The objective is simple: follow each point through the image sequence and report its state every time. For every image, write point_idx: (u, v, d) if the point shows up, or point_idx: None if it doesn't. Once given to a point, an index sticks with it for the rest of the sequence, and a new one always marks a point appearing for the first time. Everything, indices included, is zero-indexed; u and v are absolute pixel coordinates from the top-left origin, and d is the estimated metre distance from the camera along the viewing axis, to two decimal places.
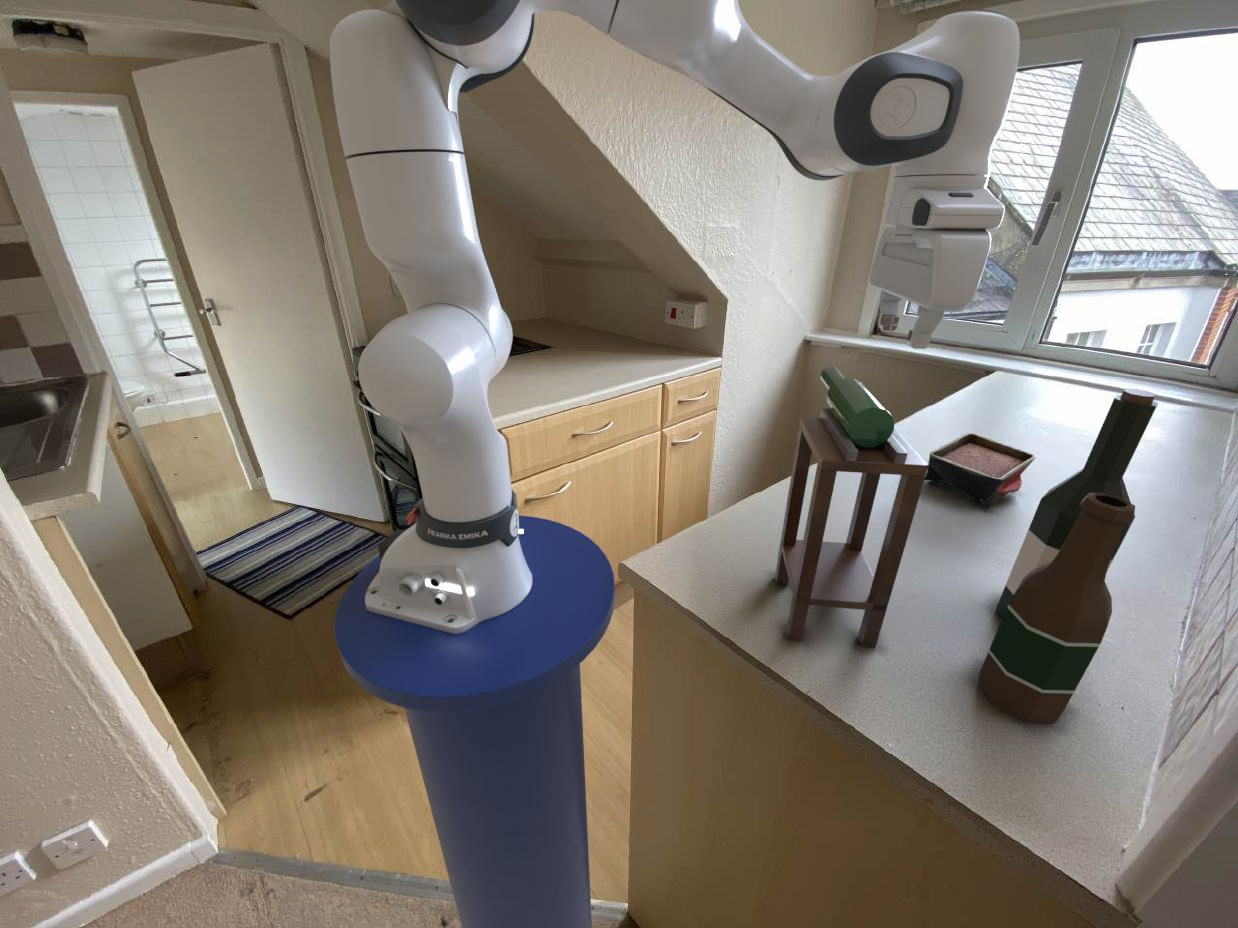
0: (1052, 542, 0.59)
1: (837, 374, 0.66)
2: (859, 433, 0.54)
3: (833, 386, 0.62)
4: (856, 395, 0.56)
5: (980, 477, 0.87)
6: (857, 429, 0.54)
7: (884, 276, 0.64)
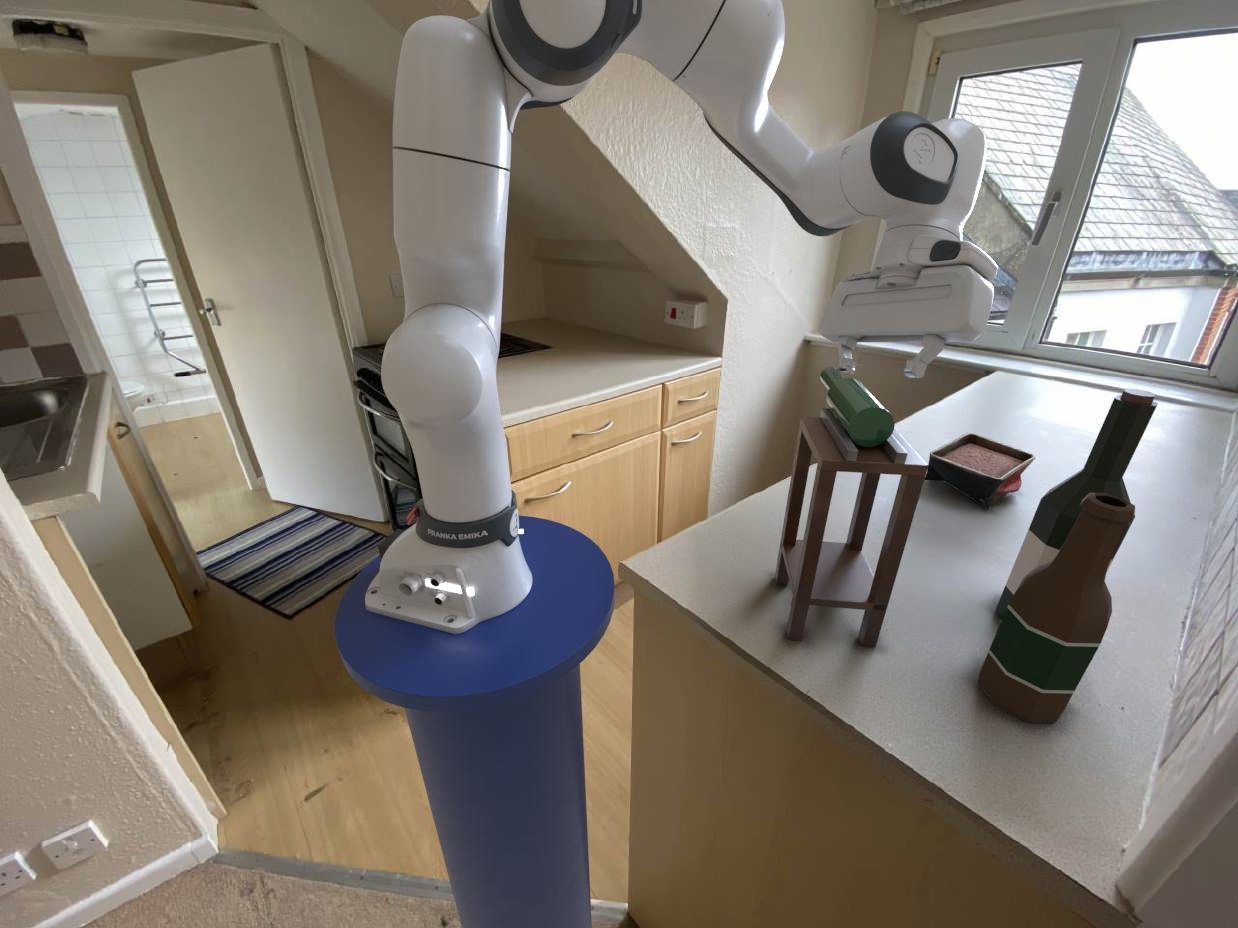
0: (1052, 542, 0.59)
1: (837, 374, 0.66)
2: (859, 432, 0.54)
3: (833, 386, 0.62)
4: (856, 395, 0.56)
5: (980, 477, 0.87)
6: (857, 428, 0.54)
7: (853, 320, 0.68)
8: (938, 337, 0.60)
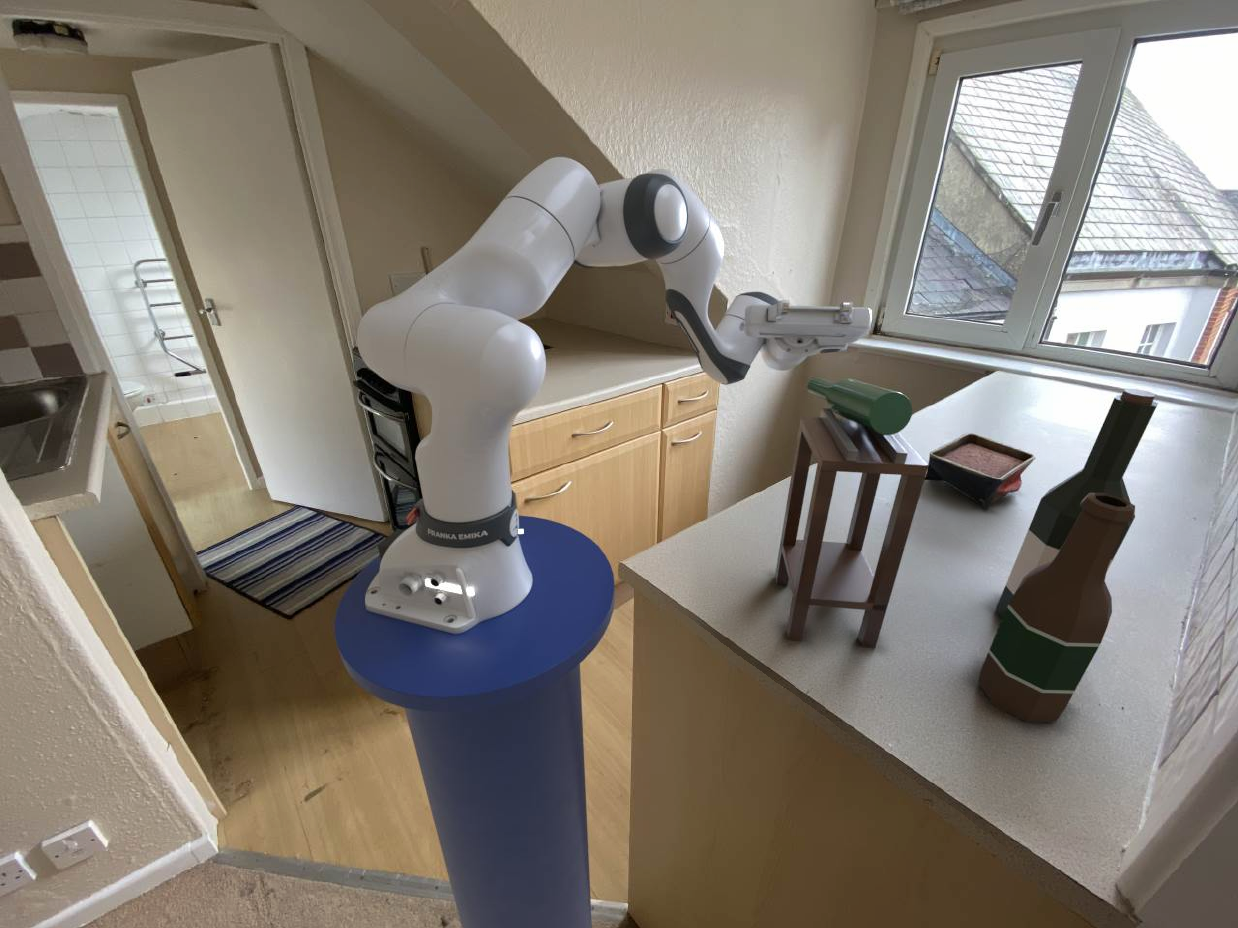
0: (1052, 542, 0.59)
1: (829, 381, 0.67)
2: (879, 418, 0.53)
3: (836, 384, 0.61)
4: (869, 386, 0.56)
5: (980, 477, 0.87)
6: (878, 414, 0.53)
7: None
8: None
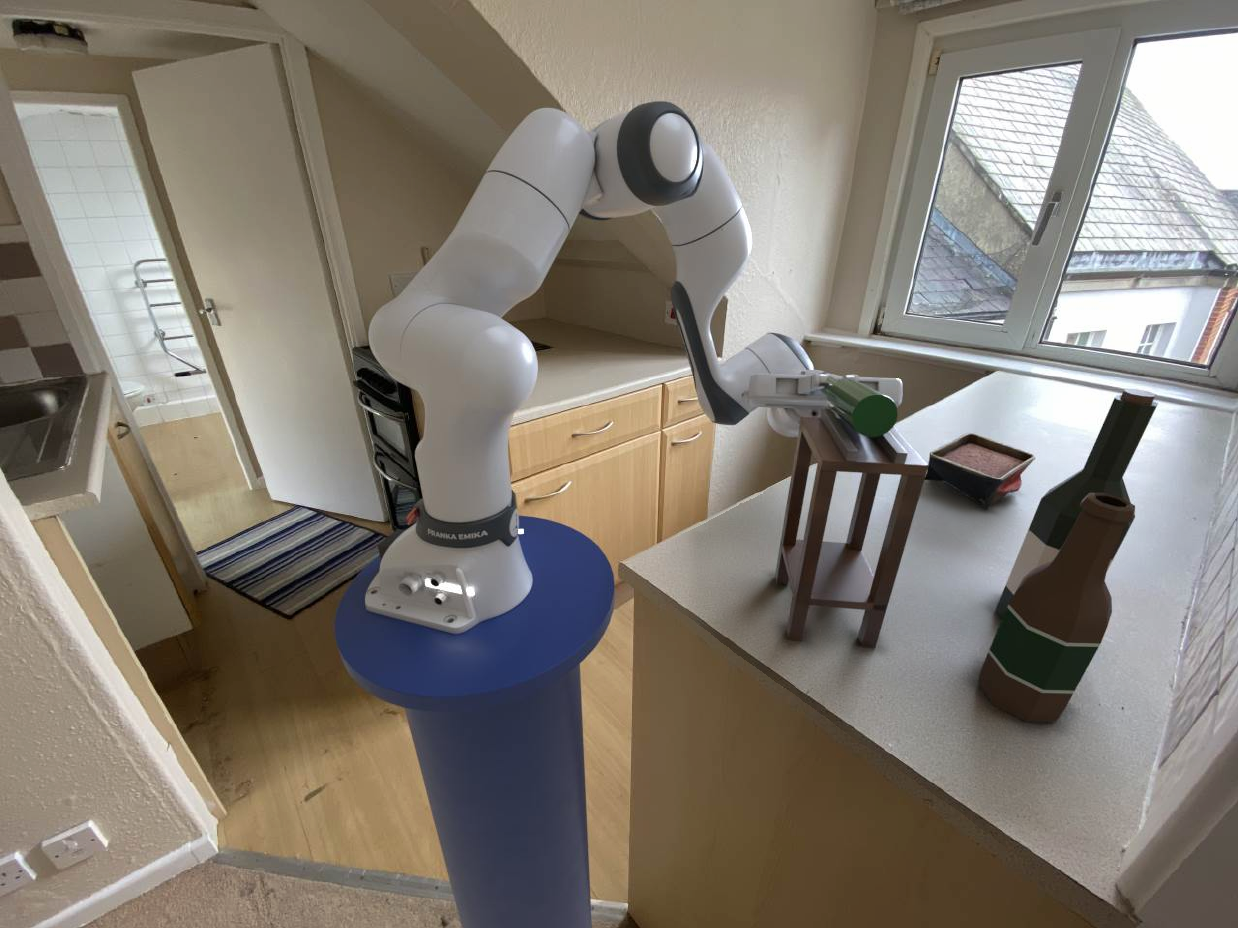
0: (1052, 542, 0.59)
1: (837, 380, 0.67)
2: (862, 420, 0.53)
3: (835, 384, 0.62)
4: (860, 387, 0.56)
5: (980, 477, 0.87)
6: (861, 416, 0.53)
7: None
8: None
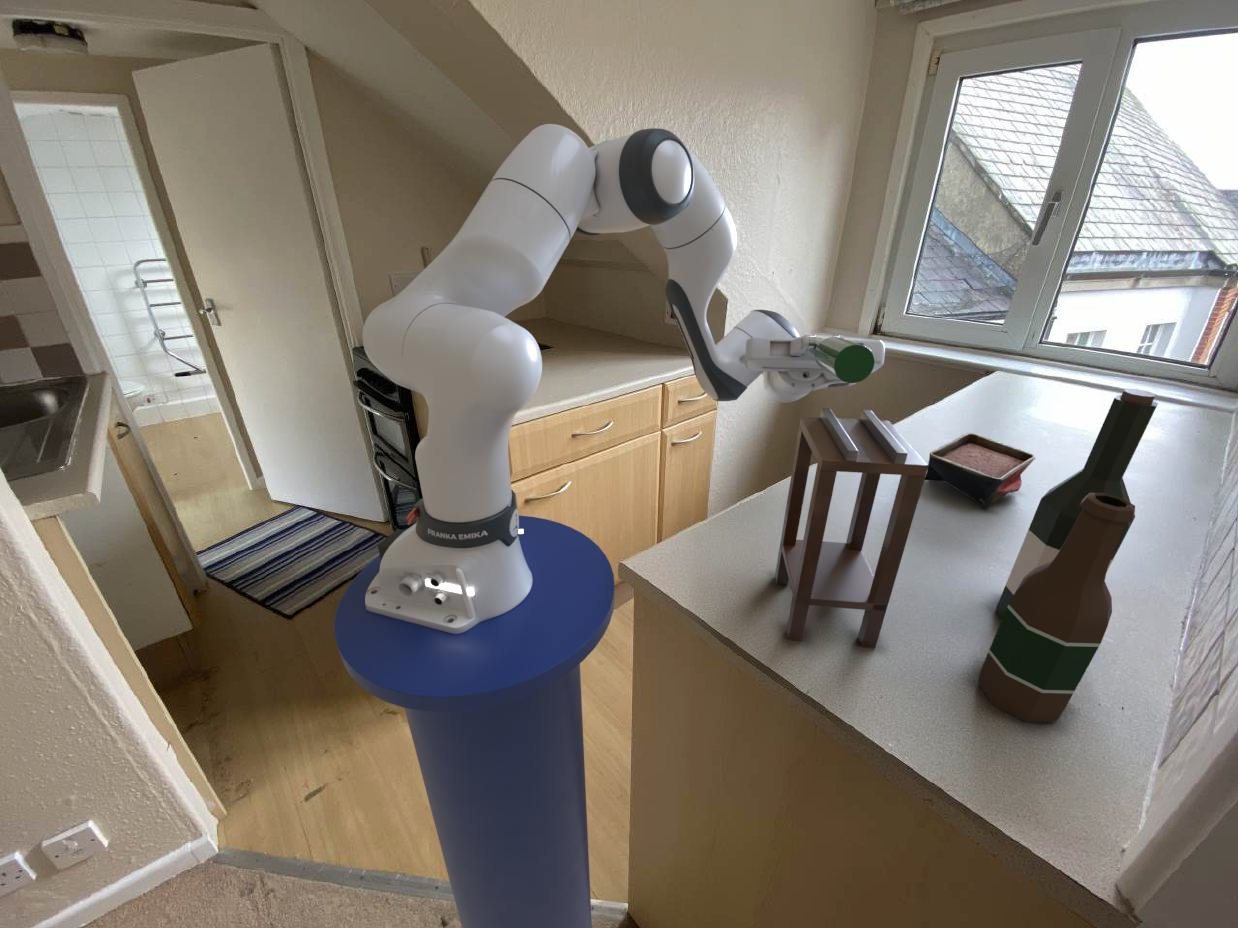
0: (1052, 542, 0.59)
1: None
2: (843, 368, 0.61)
3: (821, 342, 0.69)
4: (842, 341, 0.63)
5: (980, 477, 0.87)
6: (842, 364, 0.60)
7: None
8: None
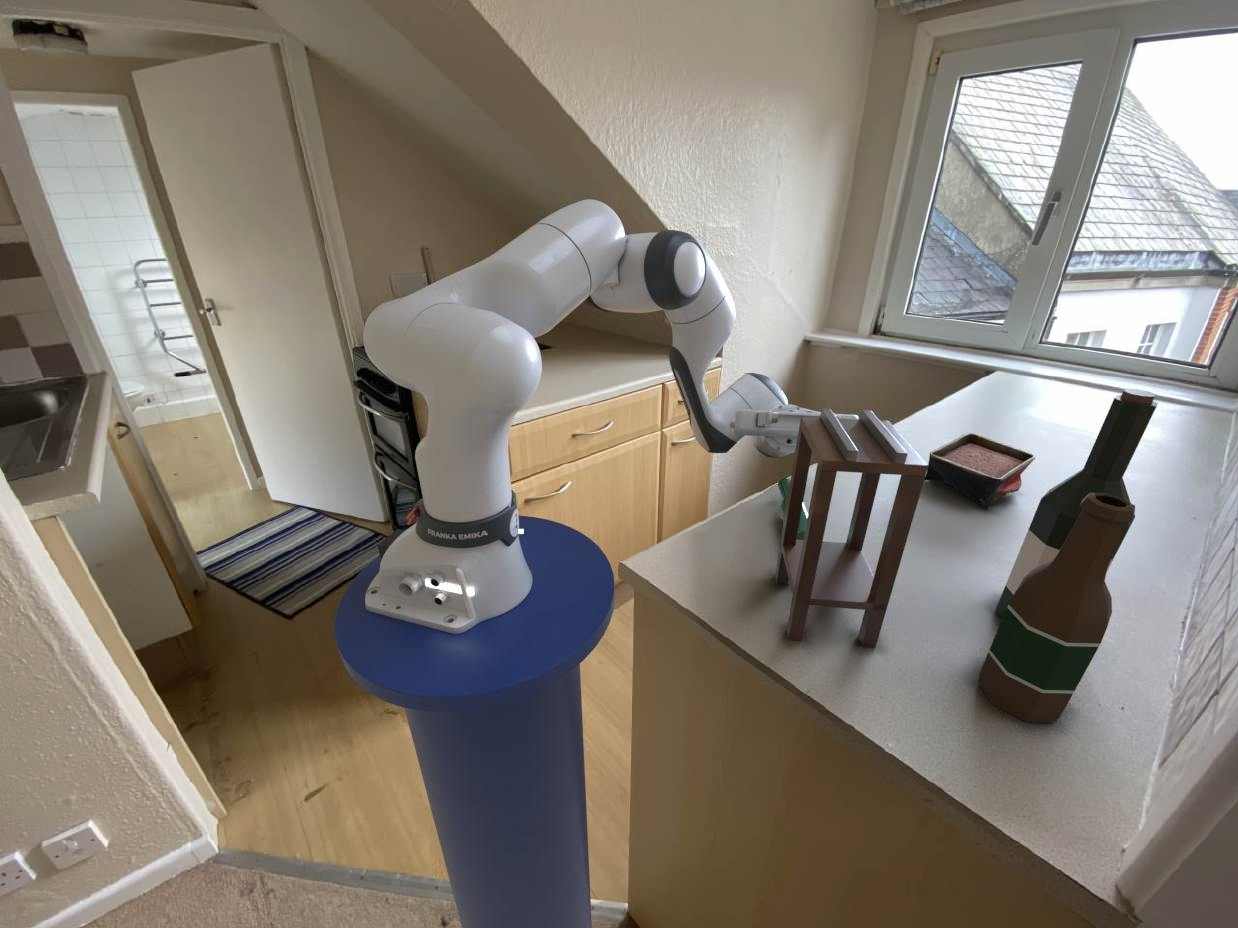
0: (1052, 542, 0.59)
1: None
2: None
3: (784, 502, 0.85)
4: None
5: (980, 477, 0.87)
6: None
7: None
8: None
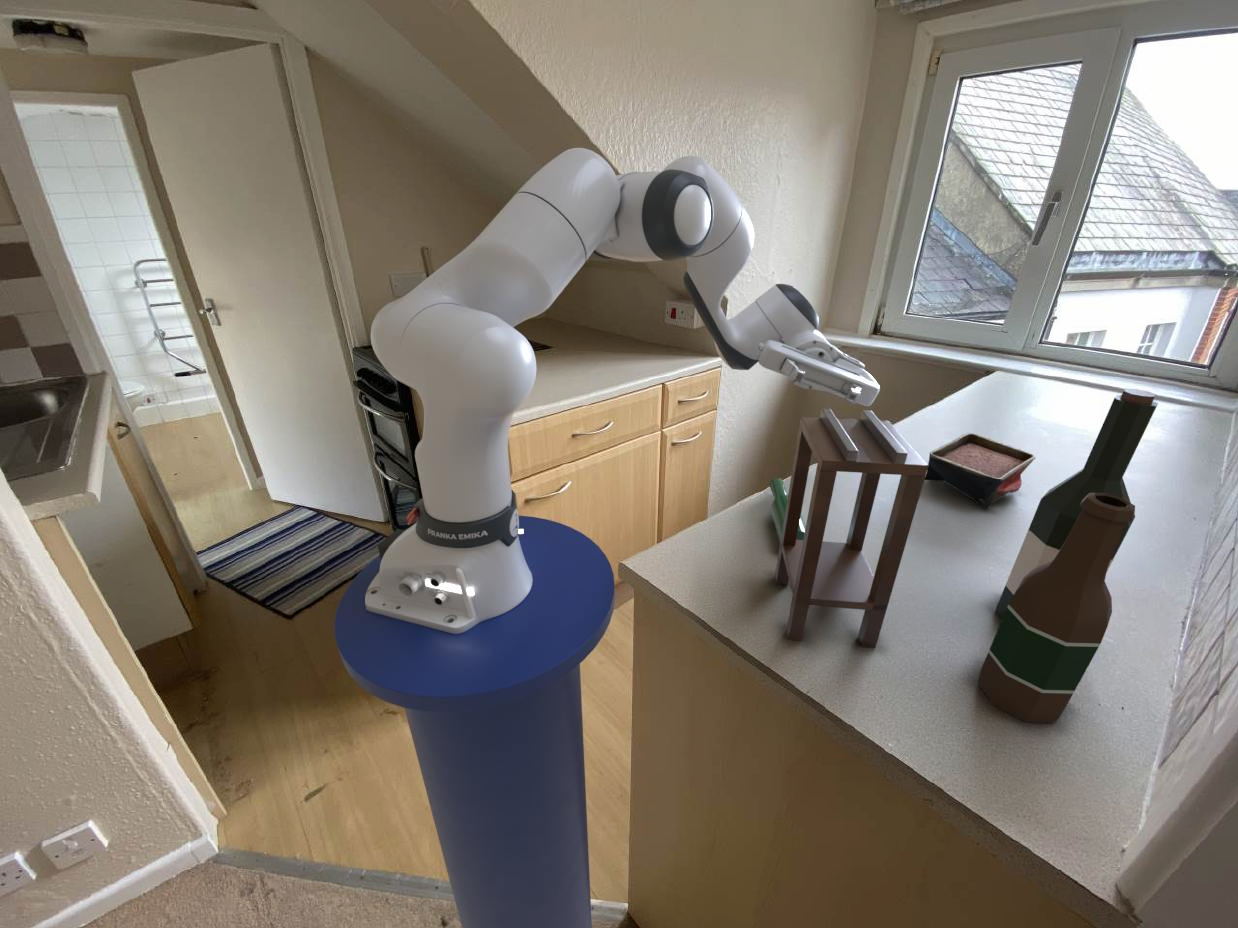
0: (1052, 542, 0.59)
1: (775, 488, 0.90)
2: None
3: (771, 509, 0.86)
4: (779, 520, 0.81)
5: (980, 477, 0.87)
6: None
7: (799, 355, 0.87)
8: None
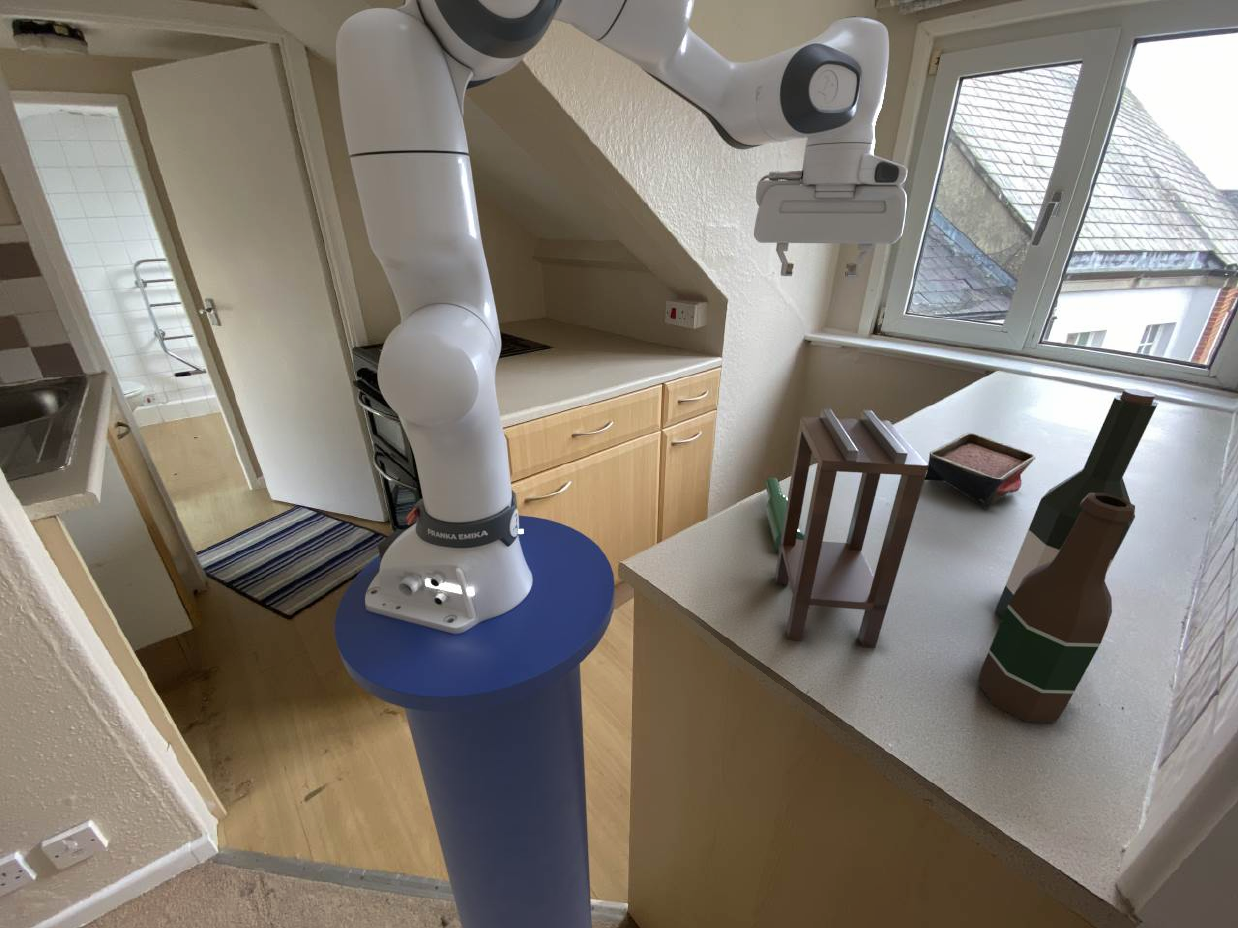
0: (1052, 542, 0.59)
1: (769, 490, 0.90)
2: None
3: (766, 512, 0.86)
4: (771, 524, 0.81)
5: (980, 477, 0.87)
6: None
7: (796, 230, 0.75)
8: None
